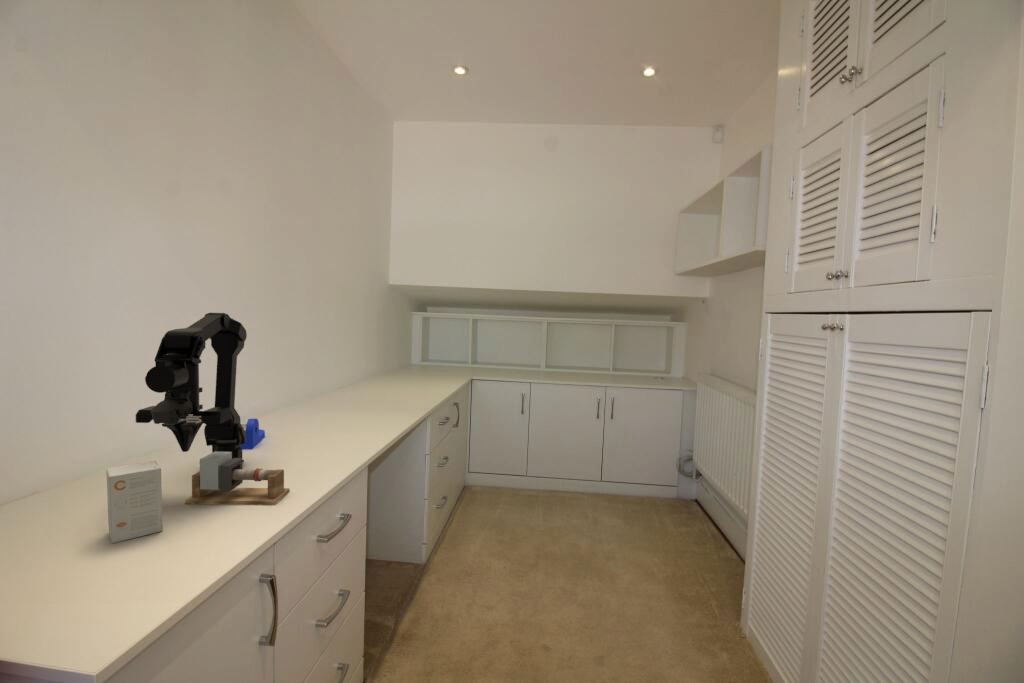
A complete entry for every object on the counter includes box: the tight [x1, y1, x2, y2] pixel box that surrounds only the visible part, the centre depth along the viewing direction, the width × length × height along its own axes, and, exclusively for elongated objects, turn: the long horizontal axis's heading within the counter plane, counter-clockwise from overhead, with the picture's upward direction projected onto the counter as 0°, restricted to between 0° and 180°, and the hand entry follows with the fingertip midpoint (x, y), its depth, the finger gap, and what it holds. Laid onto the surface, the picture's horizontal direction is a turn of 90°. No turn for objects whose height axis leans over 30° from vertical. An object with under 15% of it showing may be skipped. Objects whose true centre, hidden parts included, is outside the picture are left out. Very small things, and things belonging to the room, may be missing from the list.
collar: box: [220, 457, 244, 492], centre depth 115 cm, size 2×6×6 cm, turn 3°
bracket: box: [241, 418, 266, 450], centre depth 161 cm, size 18×8×9 cm, turn 14°
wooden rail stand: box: [184, 468, 290, 506], centre depth 115 cm, size 20×8×7 cm, turn 92°
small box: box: [106, 460, 163, 544], centre depth 96 cm, size 8×6×13 cm
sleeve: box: [199, 452, 232, 490], centre depth 115 cm, size 4×6×7 cm, turn 2°
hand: (185, 451), depth 114 cm, fingers closed
